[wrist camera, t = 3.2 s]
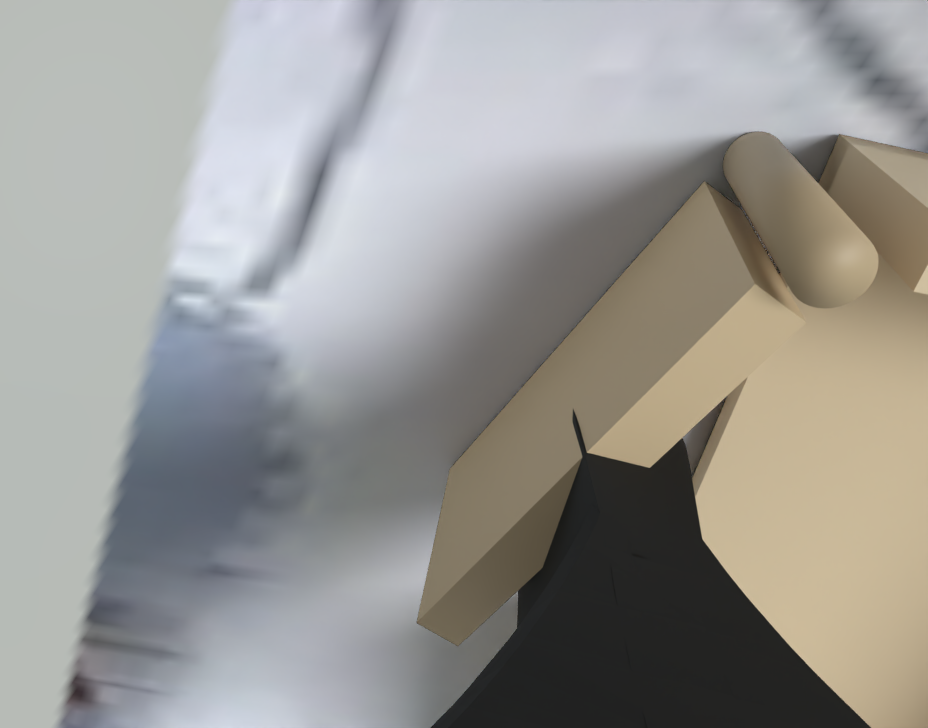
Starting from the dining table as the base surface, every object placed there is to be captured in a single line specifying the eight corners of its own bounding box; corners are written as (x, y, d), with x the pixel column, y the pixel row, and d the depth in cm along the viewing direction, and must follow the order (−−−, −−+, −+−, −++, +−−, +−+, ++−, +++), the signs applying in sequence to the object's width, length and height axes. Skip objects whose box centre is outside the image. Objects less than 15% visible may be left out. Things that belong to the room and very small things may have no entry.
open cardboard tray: (896, 893, 16) (958, 1082, 13) (548, 814, 16) (544, 988, 13) (1469, 270, 9) (1836, 419, 6) (838, 134, 9) (948, 226, 6)
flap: (753, 120, 9) (834, 212, 6) (798, 155, 9) (897, 262, 6) (446, 466, 12) (409, 634, 9) (484, 490, 12) (459, 661, 9)
